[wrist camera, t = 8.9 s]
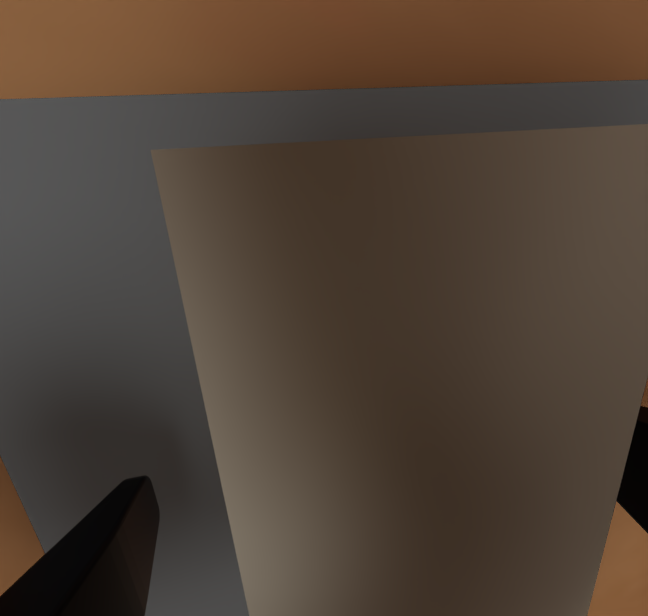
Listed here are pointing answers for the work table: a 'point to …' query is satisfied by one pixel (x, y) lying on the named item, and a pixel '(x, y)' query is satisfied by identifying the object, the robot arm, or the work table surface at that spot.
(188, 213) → the ash block
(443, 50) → the work table surface
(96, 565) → the robot arm
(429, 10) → the work table surface
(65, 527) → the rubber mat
